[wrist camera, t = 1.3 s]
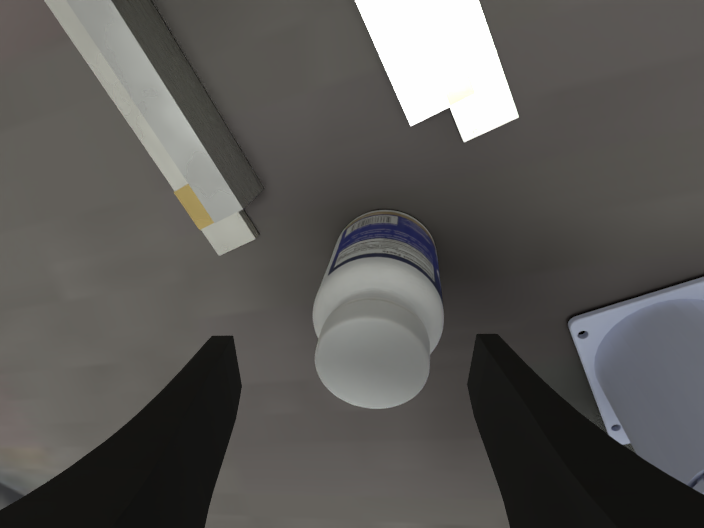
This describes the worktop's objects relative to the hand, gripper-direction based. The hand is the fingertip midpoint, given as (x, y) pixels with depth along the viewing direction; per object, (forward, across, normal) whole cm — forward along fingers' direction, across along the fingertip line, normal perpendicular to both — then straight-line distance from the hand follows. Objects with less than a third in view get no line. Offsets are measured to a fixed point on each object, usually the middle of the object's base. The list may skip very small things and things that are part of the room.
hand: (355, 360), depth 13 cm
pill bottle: (+10, -2, +2) cm, 11 cm away
